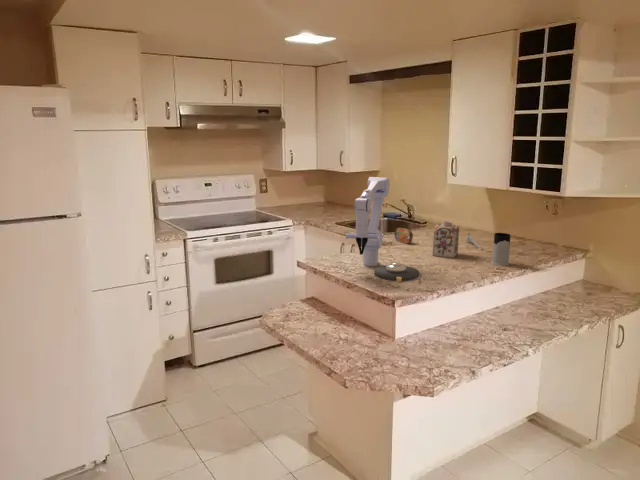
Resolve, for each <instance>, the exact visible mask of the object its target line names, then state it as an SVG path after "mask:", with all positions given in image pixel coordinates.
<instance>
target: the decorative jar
mask: <svg viewBox="0 0 640 480" xmlns="http://www.w3.org/2000/svg"><path fill="white" fill-rule="evenodd" d="M432 232H433V237H432V238H433V239H432V253H431V254H432V257H439V258H440V257H443V258H450V259H454V258H455V257H456V256H457V255H458V252H459V239H460V236H459V235H460V227H459V226H458V225H456V224H453V223H452V221H447V220H446V221H445V220H444V221H442V223H439V224H436V225H435V227H434V229H433V231H432Z"/></svg>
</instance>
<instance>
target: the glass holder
mask: <svg viewBox="0 0 640 480" xmlns="http://www.w3.org/2000/svg"><path fill="white" fill-rule="evenodd" d="M493 234H494V235H493V236H494V237H493V243H492V254H491V255H492V256H491V261H490V264H491V263H492V264H491V265H493V264H495V265H494V266H497V265H508V264H509V265H510V263H509V259H510V249H511V235H512V234H509V233H506V232H495V233H493ZM509 265H508V266H509Z"/></svg>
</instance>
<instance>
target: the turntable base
mask: <svg viewBox="0 0 640 480" xmlns="http://www.w3.org/2000/svg"><path fill="white" fill-rule="evenodd" d="M421 277H422V274H421V273H420V272H419V277H418V278H416V279H412V280H406V282H409V281H410V282H412V281H415V280H419V279H420V278H421ZM375 278H378V276H376V275H375ZM380 279H382V280H385V281H387V279H383V278H380ZM390 281H391V282H394V280H390ZM402 282H405V280H402Z"/></svg>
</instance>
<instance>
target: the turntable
mask: <svg viewBox="0 0 640 480" xmlns="http://www.w3.org/2000/svg"><path fill="white" fill-rule="evenodd" d="M419 273H420V270H419V269H417V268H414V267H411V266H407V265H406V272H405V273H400V274H395V273H389V272H387V271H386V265H380V266H377V267H376V268H375V269H374V270H373V275H374V276H375V277H376V276H377V278H379V279H381V278H383V279H382V280H385V279H386V280H387V281H391V280H393V281H395V282H396V283H397V282H398V283H401V282H403V281H402V280H404V281H407V280H412V279H416V278H418V277H419ZM416 280H417V279H416ZM412 281H413V280H412Z"/></svg>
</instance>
